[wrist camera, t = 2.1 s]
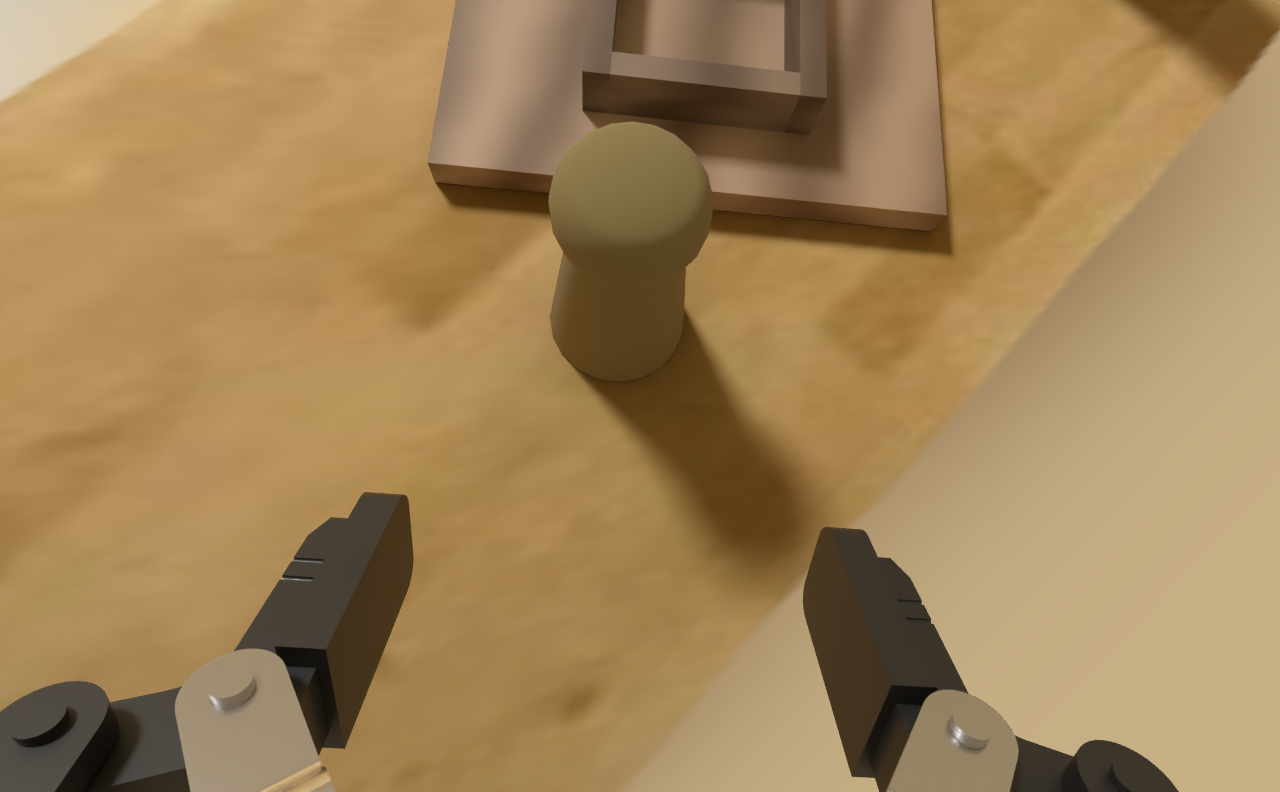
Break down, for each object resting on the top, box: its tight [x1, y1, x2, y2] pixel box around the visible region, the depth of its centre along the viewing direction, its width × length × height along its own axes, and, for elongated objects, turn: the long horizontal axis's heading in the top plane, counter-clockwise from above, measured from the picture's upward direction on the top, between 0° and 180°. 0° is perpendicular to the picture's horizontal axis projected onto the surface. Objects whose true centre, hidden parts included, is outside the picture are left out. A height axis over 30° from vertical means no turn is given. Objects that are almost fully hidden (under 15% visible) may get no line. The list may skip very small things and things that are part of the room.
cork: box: [548, 121, 713, 382], centre depth 25 cm, size 6×6×11 cm
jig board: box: [428, 0, 947, 231], centre depth 32 cm, size 24×18×4 cm
